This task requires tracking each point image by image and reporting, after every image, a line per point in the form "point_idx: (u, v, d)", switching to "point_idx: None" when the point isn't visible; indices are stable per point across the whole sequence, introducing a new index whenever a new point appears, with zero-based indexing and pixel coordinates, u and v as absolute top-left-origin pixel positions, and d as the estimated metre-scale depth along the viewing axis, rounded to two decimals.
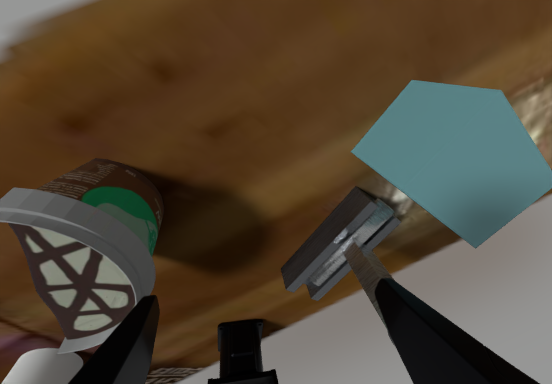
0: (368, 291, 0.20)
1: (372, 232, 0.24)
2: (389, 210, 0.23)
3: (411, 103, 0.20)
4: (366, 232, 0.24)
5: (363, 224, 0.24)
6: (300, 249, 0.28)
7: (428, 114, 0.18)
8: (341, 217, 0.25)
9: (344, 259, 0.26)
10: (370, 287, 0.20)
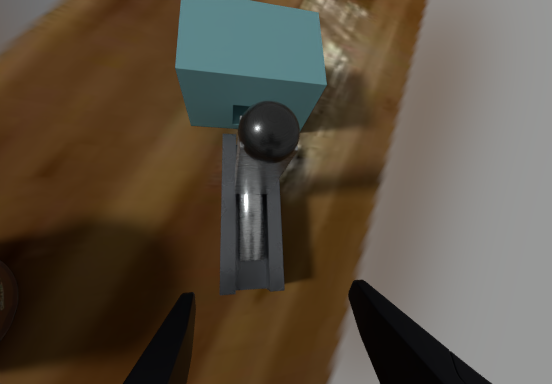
0: None
1: None
2: None
3: None
4: None
5: None
6: None
7: None
8: None
9: (254, 204, 0.20)
10: None
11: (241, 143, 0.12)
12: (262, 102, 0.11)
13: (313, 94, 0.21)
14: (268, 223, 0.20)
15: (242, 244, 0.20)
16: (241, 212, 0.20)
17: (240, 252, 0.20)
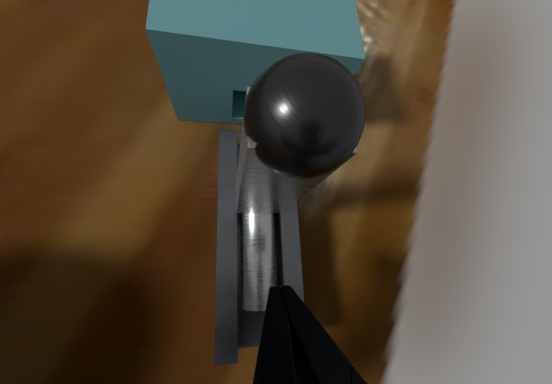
0: (240, 180, 0.09)
1: None
2: None
3: None
4: None
5: None
6: None
7: None
8: None
9: (263, 228, 0.14)
10: (239, 173, 0.09)
11: (250, 139, 0.06)
12: (294, 53, 0.05)
13: None
14: (283, 254, 0.15)
15: (247, 286, 0.14)
16: (245, 239, 0.14)
17: (244, 297, 0.14)
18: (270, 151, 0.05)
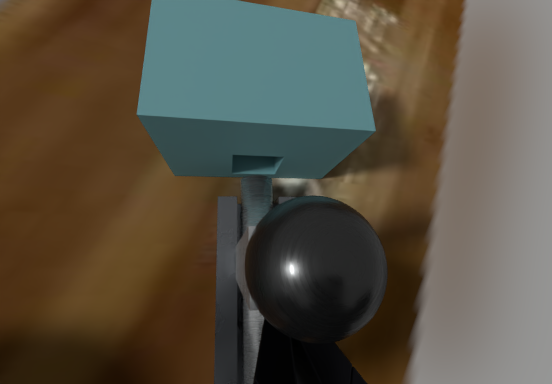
0: (240, 282, 0.08)
1: None
2: (253, 177, 0.15)
3: None
4: (255, 226, 0.15)
5: (243, 220, 0.15)
6: None
7: None
8: None
9: None
10: (240, 271, 0.09)
11: (253, 301, 0.05)
12: (305, 215, 0.05)
13: (352, 141, 0.14)
14: None
15: (248, 360, 0.13)
16: (245, 306, 0.14)
17: (245, 372, 0.13)
18: (276, 327, 0.05)
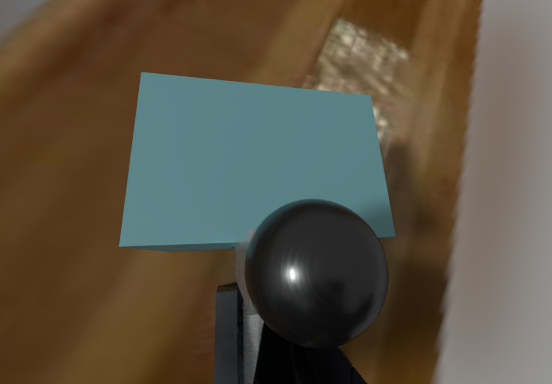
0: (240, 283, 0.08)
1: None
2: None
3: None
4: None
5: None
6: None
7: None
8: None
9: None
10: (240, 273, 0.09)
11: (253, 305, 0.05)
12: (306, 220, 0.04)
13: None
14: None
15: (247, 360, 0.13)
16: (245, 306, 0.14)
17: (244, 372, 0.13)
18: (277, 332, 0.05)
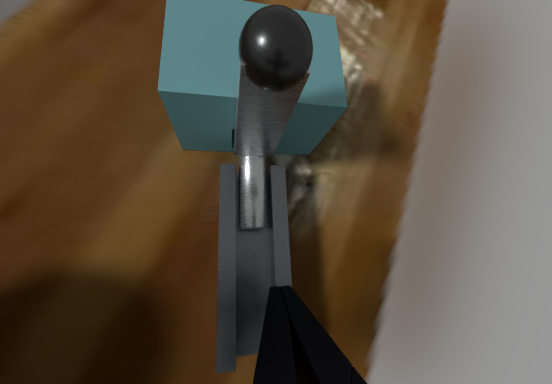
0: (237, 109, 0.13)
1: None
2: None
3: None
4: None
5: None
6: None
7: None
8: None
9: (256, 167, 0.18)
10: (237, 105, 0.13)
11: (242, 60, 0.10)
12: None
13: (330, 117, 0.17)
14: (275, 275, 0.17)
15: (243, 210, 0.17)
16: (242, 176, 0.18)
17: (241, 219, 0.18)
18: (254, 64, 0.09)
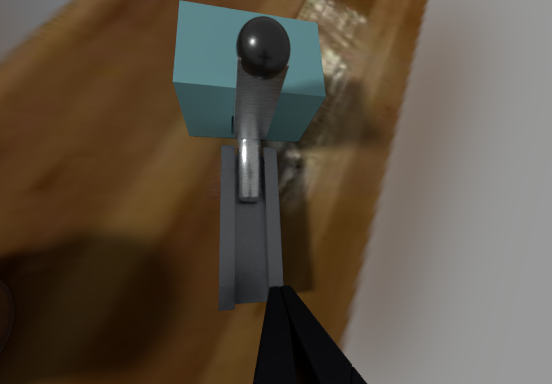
0: (235, 96, 0.17)
1: None
2: None
3: None
4: None
5: None
6: None
7: None
8: None
9: (251, 148, 0.22)
10: (235, 92, 0.17)
11: (238, 56, 0.13)
12: None
13: (312, 105, 0.21)
14: (267, 236, 0.20)
15: (241, 183, 0.21)
16: (240, 155, 0.22)
17: (239, 190, 0.21)
18: (247, 58, 0.13)
